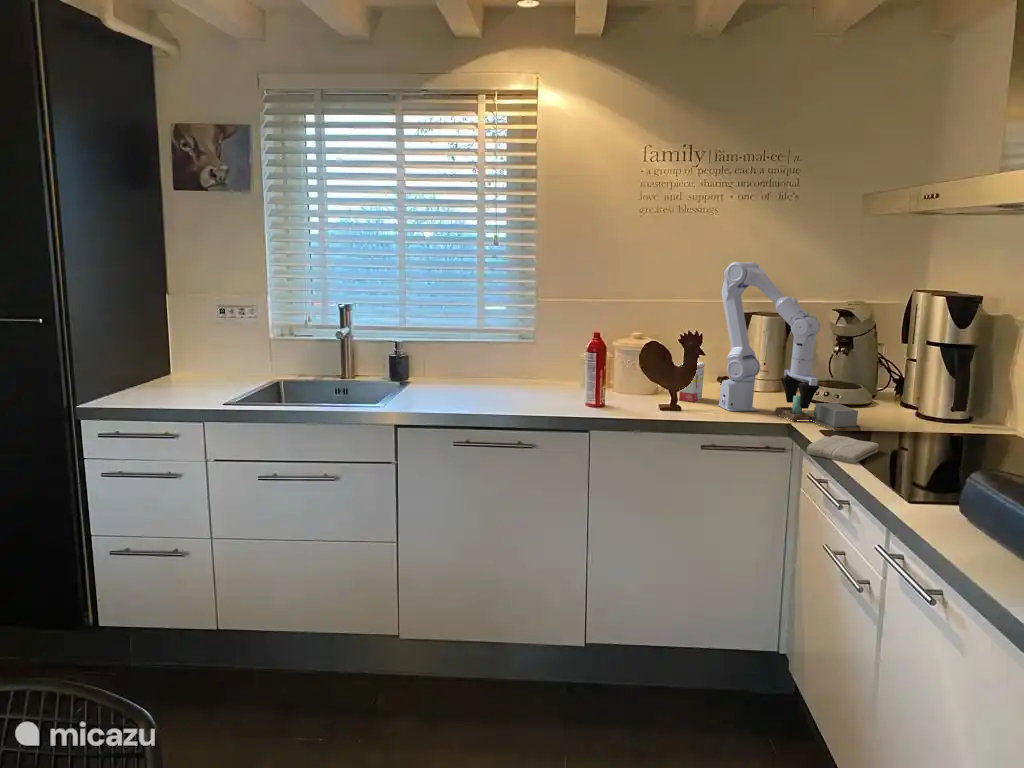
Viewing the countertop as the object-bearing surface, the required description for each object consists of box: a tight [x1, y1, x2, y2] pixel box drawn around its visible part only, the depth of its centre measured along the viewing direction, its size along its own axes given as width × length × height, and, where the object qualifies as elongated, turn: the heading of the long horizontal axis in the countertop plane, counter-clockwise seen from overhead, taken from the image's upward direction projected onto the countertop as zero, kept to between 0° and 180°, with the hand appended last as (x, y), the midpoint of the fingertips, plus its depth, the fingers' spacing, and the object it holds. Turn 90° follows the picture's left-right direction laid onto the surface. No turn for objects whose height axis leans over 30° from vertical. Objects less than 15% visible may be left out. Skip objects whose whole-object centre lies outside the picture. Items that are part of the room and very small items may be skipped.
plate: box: [802, 407, 862, 432], centre depth 233 cm, size 8×22×3 cm, turn 11°
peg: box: [792, 395, 803, 415], centre depth 234 cm, size 3×3×6 cm
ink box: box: [678, 361, 706, 403], centre depth 258 cm, size 9×5×12 cm, turn 147°
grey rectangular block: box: [814, 402, 859, 427], centre depth 228 cm, size 7×10×4 cm
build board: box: [774, 406, 810, 422], centre depth 237 cm, size 5×10×2 cm, turn 11°
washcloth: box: [806, 434, 880, 464], centre depth 200 cm, size 12×18×3 cm, turn 139°
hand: (797, 405), depth 234 cm, fingers open, 7 cm apart
